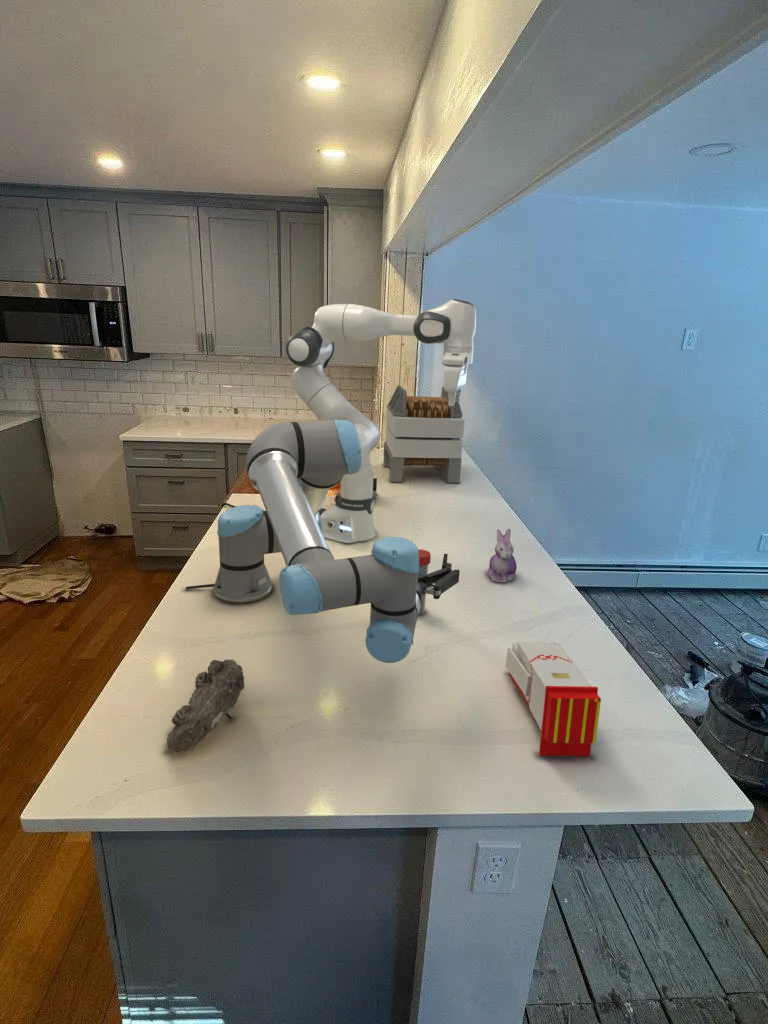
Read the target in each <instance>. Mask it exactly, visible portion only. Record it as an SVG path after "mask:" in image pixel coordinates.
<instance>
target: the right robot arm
mask: <svg viewBox="0 0 768 1024" xmlns="http://www.w3.org/2000/svg"><path fill="white" fill-rule="evenodd" d="M476 327H477V309H476V306H475V305H474V304H473V303H472V302H470V301H467V300H463V299H458V298H451V299H450V300H448V301H447V302H445V303H444V304H441V305H439V306H437V307H435V308H431V309H427V310H424V311H422V312H421V313H419V314H399V313H391V312H386V311H383V310H380V309H377V308H374V307H370V306H366V305H361V304H355V303H335V304H327V305H322V306H320V307H318V308H317V309H316V311H315V313H314V317H313V325H312V326H310V325H306V326H305V327H303V328H301V329H299V330H298V331H295V333H293V334H292V335H291V336H290V337H289V338H288V339H287V340H286V344H285V354H286V357H287V359H289V361H290V362H292V364H294V365H296V366H297V367H295V369H294V370H293V371H292V373H291V375H290V380H291V381H290V383H291V384H292V386H293V388H294V390H295V391H296V393H297V395H298V396H299V397H300V399H301V400H302V401H303V403H304V404H305V405H306V407H307V408H308V409H309V410H310V411H311V412H312V413H313V415H314V416H315V417H316V418H317V419H318V421H324V420H335V419H337V420H348V421H350V422H352V423H353V424H354V426H355V428H356V430H357V433H358V436H359V440H360V446H361V467H360V470H359V472H357V473H355V474H352V475H350V474H345V475H344V476H343V478H342V479H341V481H340V488H339V489H340V490H339V491H338V492H337V494H336V495H335V496H334V497H333V502H334V504H333V505H331V506H329V507H328V508H324V507H320V509H319V511H318V512H319V514H320V516H321V520H322V533H323V536H324V538H325V539H326V540H330V541H336V542H339V543H343V544H352V543H357V542H365V541H368V540H372V539H373V538H375V537H376V535H377V532H376V528H375V523H374V513H373V512H374V509H375V499H374V496H373V478H374V472H373V470H372V466H371V465H372V464H371V460H370V459H371V457H370V455H371V452H372V451H373V450H374V449H376V448H377V446H378V445H379V442H380V439H381V436H382V435H381V429H380V427H379V425H378V424H377V423H376V422H375V421H373V420H371V419H369V418H368V417H366V415H364V414H363V413H362V412H361V411H360V410H358V409H357V408H356V407H355V406H353V404H352V403H350V402H349V400H347V399H346V398H345V397H344V396H343V394H342V393H341V392H340V391H339V389H338V388H337V387H336V386H335V385H334V384H333V382H332V381H331V380H330V379H329V378H328V377H327V376H326V374H325V372H324V369H326V368H327V366H328V365H329V362H330V360H331V359H332V357H333V356H334V352H335V350H336V343H335V342H353V343H356V342H366V341H371V340H376V339H378V338H384V337H388V336H409V337H415V338H416V339H417V340H418V341H420V343H423V344H426V345H434V344H435V345H436V344H443V354H442V362H441V364H442V365H443V387H444V390H445V392H448V400H449V401H448V405H449V406H454V405H455V402H460V400H461V393H462V390H463V388H464V387H465V386H466V383H467V373H468V368H469V365H473V360H474V359H473V358H474V347H475V345H474V337H475V334H476ZM225 506H227V507H230V508H233V507H237V506H238V505H237V506H236V505H233V504H231V503H228V502H224V503H222V504H221V505H220V507H225ZM262 510H263V511H265V510H264V509H262Z"/></svg>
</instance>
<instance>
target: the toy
mask: <svg viewBox="0 0 768 1024" xmlns="http://www.w3.org/2000/svg"><path fill="white" fill-rule="evenodd" d="M511 646H512V647H508V648H507V653H506V658H505V659H506V660H505V668H506V669H507V671H508V675H509V676H510V677H511V679H512V681H513V682H514V684H515V686H516V688H517V689H518V691H519V693H520V694H521V696H522V698H523V700H524V702H525V703H526V705H527V706H528V708H529V710H530V712H531V715H532V716H533V718H534V720H535V722H536V723H537V724H536V725H537V726H538V727H539V730H540V731H541V733H540V739H539V740H540V741H539V749H538V751H539V752H538V754H539V756H543V757H548V756H550V757H551V756H552V757H553V756H554V757H568V756H569V757H591V751H592V744H596V743H597V734H598V726H599V717H600V710H601V702H602V698H601V697H600V696H599V694H598V693H599V688H598V686H592V684H590V682H589V681H588V680H587V678H586V677H585V676H584V675H583V673H582V672H581V671H580V669H579V668H578V667H577V665H576V664H575V663H574V661H573V660H572V659H571V658H570V656H569V655H568V654H567V652H566V651H565V649H564V647H562V645H561V644H560V643H559V642H553V641H551V642H549V641H548V642H547V641H546V642H545V641H517V642H512V645H511Z"/></svg>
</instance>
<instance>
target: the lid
mask: <svg viewBox="0 0 768 1024" xmlns="http://www.w3.org/2000/svg"><path fill="white" fill-rule="evenodd" d="M418 550H419V566H426V565H428V566H429V565H430V563H431V552H430V551H428V550H426V549H419V548H418Z"/></svg>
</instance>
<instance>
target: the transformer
mask: <svg viewBox="0 0 768 1024" xmlns="http://www.w3.org/2000/svg"><path fill="white" fill-rule="evenodd" d="M440 393H441V394H440V396H415V395H414V396H413V395H412V396H411V395H407V394H408V393H407V390H406V389H404V388H403V387H402V385H399V384H398V385H397V386H396V388H395V390H394V392H393V394H392V395H391V398H390V400H389V402H388V404H387V405H386V413H385V414H386V415H385V423H386V428H385V438H384V442H383V466H384V467H388V468H389V475H388V476H389V477H388V478H389V480H390V482H391V483H402V482H403V475H404V469H405V466H406V467H407V466H411V467H412V466H413V467H415V466H416V467H417V466H418V467H436V468H437V470H438V469H439V473H440V474H441V475H443V478H444V479H445V481H446V482H447V483H449V484H455V483H456V484H459V483H461V472H462V461H463V460H462V453H463V442H464V441H463V440H462V439H463V438H464V431H465V430H464V429H465V419H464V418H463V411H462V408H461V405H460V401H458V402H455V405H454V406H449V405H448V401H449V400H448V392H445V390H444V386H442V387H441V392H440Z"/></svg>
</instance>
